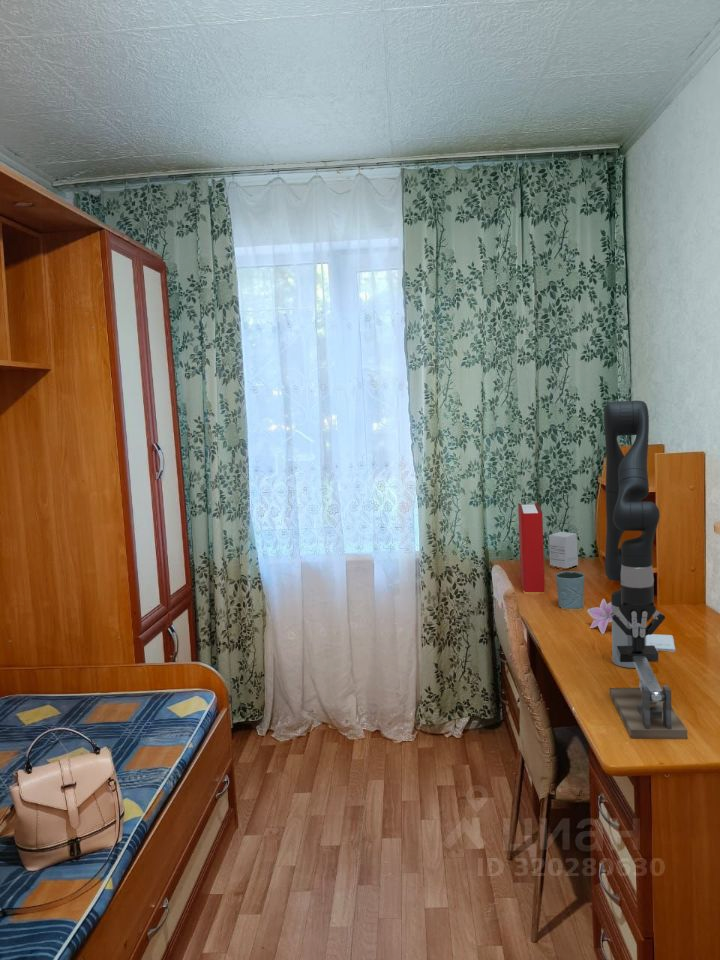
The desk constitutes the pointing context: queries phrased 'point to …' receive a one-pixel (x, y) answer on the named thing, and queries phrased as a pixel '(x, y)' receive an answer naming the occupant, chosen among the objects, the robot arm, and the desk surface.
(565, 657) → the desk surface
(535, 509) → the book
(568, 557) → the supplement box
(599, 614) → the lily
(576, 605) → the blue plant pot
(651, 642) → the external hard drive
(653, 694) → the lever
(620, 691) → the base
